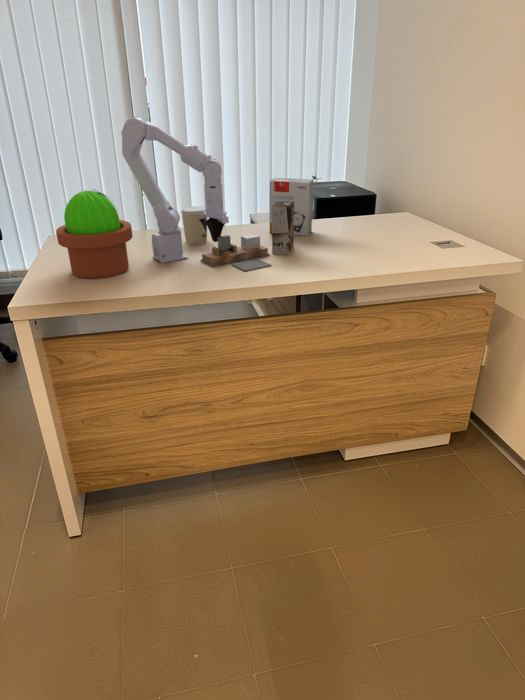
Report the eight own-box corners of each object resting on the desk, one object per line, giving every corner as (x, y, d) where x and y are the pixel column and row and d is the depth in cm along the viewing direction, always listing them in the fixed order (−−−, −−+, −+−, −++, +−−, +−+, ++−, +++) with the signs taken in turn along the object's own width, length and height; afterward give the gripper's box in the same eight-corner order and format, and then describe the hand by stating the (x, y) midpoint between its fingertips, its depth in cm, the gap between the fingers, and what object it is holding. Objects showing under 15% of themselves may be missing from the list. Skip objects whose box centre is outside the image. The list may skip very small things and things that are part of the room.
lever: (219, 254, 168) (218, 238, 166) (216, 253, 169) (215, 236, 167) (232, 251, 171) (231, 235, 168) (230, 250, 172) (229, 234, 169)
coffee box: (290, 254, 176) (290, 206, 168) (271, 254, 177) (271, 205, 170) (294, 247, 184) (294, 201, 176) (276, 246, 185) (276, 200, 178)
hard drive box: (268, 233, 202) (268, 180, 193) (274, 229, 208) (274, 177, 199) (308, 236, 197) (309, 181, 188) (312, 231, 204) (313, 178, 195)
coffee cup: (207, 244, 189) (205, 211, 183) (181, 245, 189) (178, 211, 184) (210, 238, 197) (208, 206, 192) (185, 238, 197) (183, 206, 192)
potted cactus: (62, 285, 152) (45, 197, 141) (66, 263, 171) (50, 184, 159) (139, 277, 157) (128, 192, 146) (134, 257, 176) (124, 180, 165)
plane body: (212, 267, 165) (211, 252, 163) (200, 261, 171) (199, 247, 169) (269, 255, 175) (269, 241, 173) (256, 250, 181) (256, 236, 179)
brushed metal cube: (247, 250, 172) (247, 238, 170) (241, 247, 175) (240, 236, 173) (260, 248, 175) (259, 236, 173) (253, 245, 178) (253, 233, 176)
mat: (244, 271, 160) (244, 270, 160) (231, 265, 166) (231, 264, 166) (271, 265, 165) (271, 264, 165) (257, 259, 171) (257, 258, 171)
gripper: (236, 201, 163) (237, 243, 169) (214, 194, 174) (216, 234, 180) (216, 204, 160) (218, 247, 166) (195, 197, 171) (198, 238, 177)
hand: (216, 241), depth 173 cm, fingers closed
